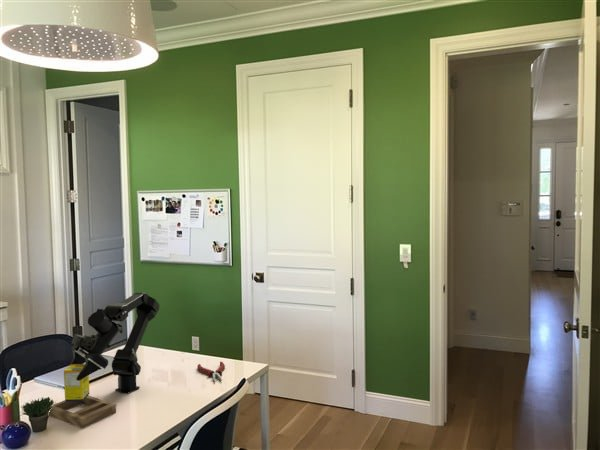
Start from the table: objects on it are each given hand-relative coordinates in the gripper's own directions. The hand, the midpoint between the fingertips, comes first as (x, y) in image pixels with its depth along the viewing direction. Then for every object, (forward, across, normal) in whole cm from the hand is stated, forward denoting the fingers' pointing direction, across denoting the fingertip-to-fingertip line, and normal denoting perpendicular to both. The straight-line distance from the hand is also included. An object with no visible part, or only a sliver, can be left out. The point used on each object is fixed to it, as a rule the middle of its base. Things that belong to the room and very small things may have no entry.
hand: (72, 376), depth 163 cm
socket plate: (+8, +3, +10) cm, 13 cm away
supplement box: (+5, 0, +7) cm, 8 cm away
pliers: (-28, +2, +48) cm, 56 cm away
